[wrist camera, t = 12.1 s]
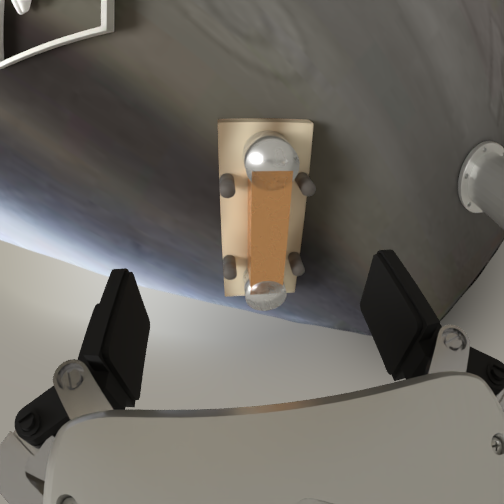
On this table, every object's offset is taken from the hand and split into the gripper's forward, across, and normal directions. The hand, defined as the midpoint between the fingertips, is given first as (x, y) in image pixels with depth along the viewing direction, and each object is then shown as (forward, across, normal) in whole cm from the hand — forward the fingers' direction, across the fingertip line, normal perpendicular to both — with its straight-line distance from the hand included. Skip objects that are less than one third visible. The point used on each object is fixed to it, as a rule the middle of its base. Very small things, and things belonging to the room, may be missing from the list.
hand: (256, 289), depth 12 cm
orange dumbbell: (+23, -3, +11) cm, 26 cm away
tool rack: (+25, -3, +11) cm, 27 cm away
